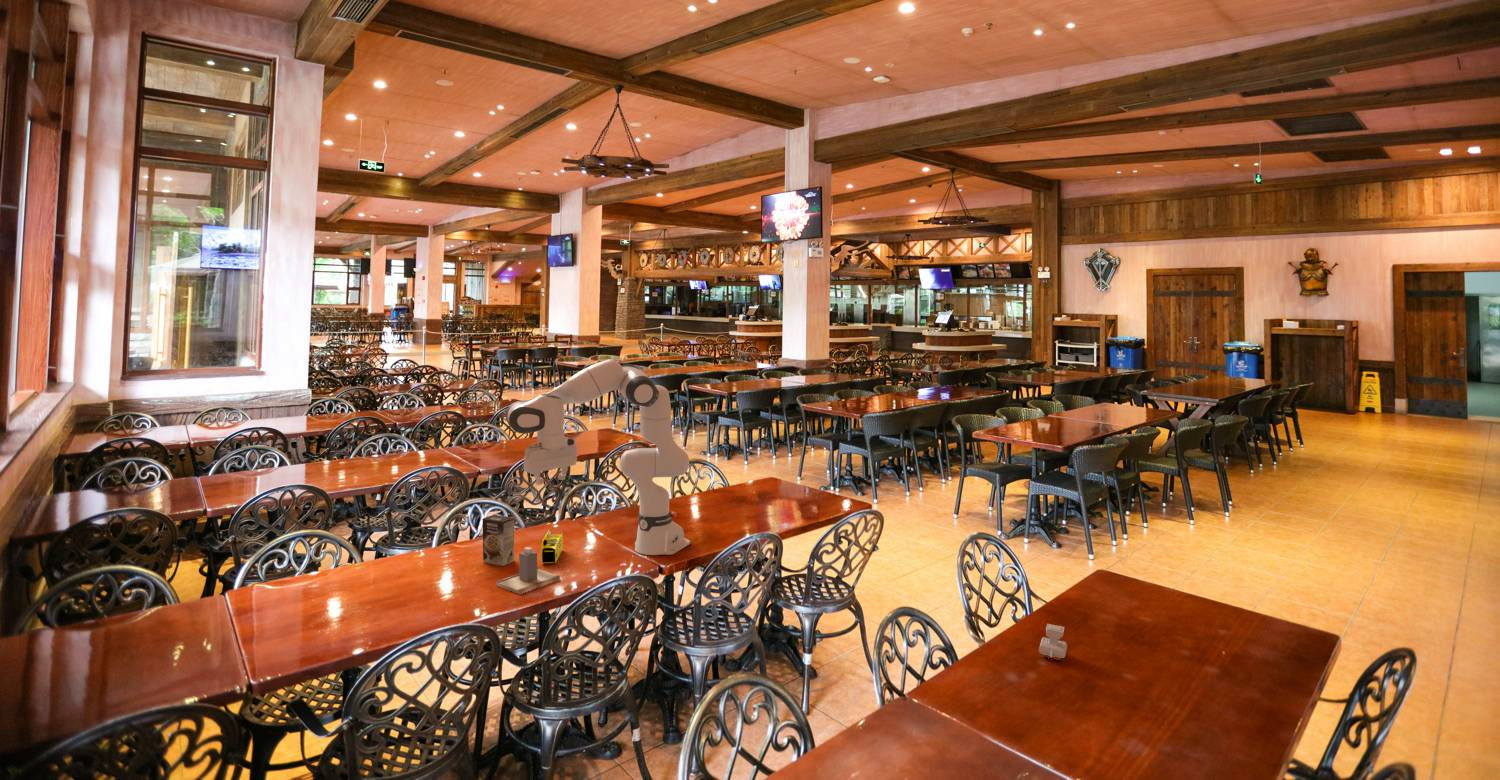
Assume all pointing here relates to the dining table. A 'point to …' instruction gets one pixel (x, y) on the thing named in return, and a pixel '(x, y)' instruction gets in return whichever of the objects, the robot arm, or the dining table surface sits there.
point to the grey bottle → (528, 565)
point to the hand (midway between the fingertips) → (550, 481)
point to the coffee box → (498, 540)
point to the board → (521, 587)
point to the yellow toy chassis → (551, 548)
